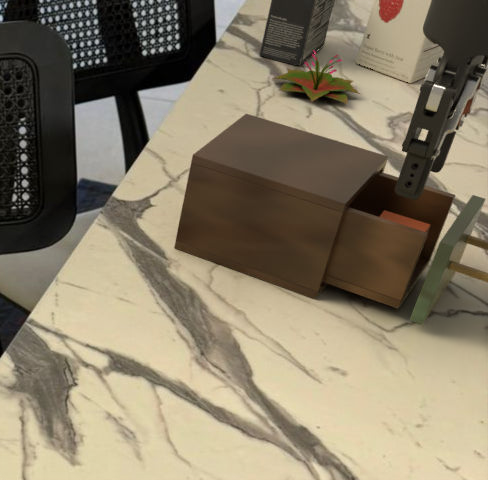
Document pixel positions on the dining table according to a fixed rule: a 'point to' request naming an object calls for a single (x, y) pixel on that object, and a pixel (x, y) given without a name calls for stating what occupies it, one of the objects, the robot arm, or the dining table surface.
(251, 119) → the cabinet
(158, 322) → the dining table surface
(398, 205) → the drawer
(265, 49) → the small box
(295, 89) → the lily flower
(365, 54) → the rectangular carton
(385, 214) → the block
